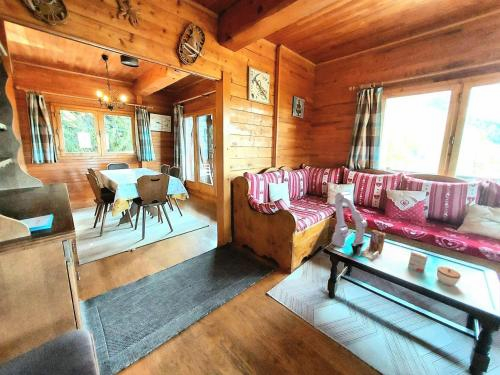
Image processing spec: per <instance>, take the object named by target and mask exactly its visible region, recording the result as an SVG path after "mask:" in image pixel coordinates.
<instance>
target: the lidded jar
mask: <svg viewBox="0 0 500 375" xmlns="http://www.w3.org/2000/svg"><path fill="white" fill-rule="evenodd" d="M436 276H437V279H438V280H439V282H440V283H442V284H444V285H446V286H449V287H450V286H451V285H452V286H454V285H456V284H457V283H459V281H460V279H461V276H462V275H461V274H460V272H458V271H456V270H455V269H453V268H449V267H446V266H438V267H437V271H436Z"/></svg>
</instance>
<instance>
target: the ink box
mask: <svg viewBox="0 0 500 375" xmlns="http://www.w3.org/2000/svg"><path fill="white" fill-rule="evenodd" d="M428 256H429V255H428V254H425V253H421V252H419V251H417V250H412V251H411V253H410V256H409V261H408V265H407V268H408V269H411V270H414V271H416V272H419V273H421V274H423V273H424V272H425V268H426V265H427V261H428Z"/></svg>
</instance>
